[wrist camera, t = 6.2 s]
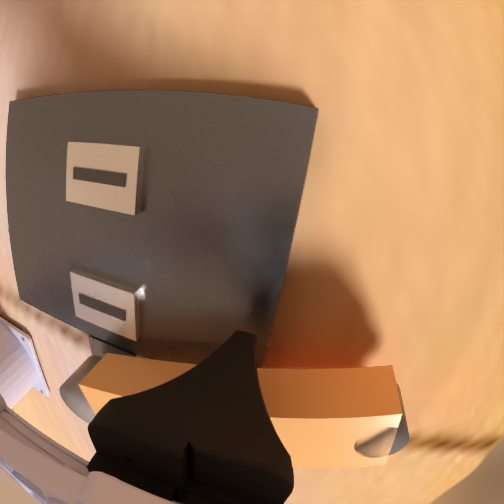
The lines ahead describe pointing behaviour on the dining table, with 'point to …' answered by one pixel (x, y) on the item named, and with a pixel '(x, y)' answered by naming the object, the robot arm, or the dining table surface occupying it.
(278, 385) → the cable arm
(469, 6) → the dining table surface
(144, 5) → the dining table surface
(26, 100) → the server tray
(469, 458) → the dining table surface
